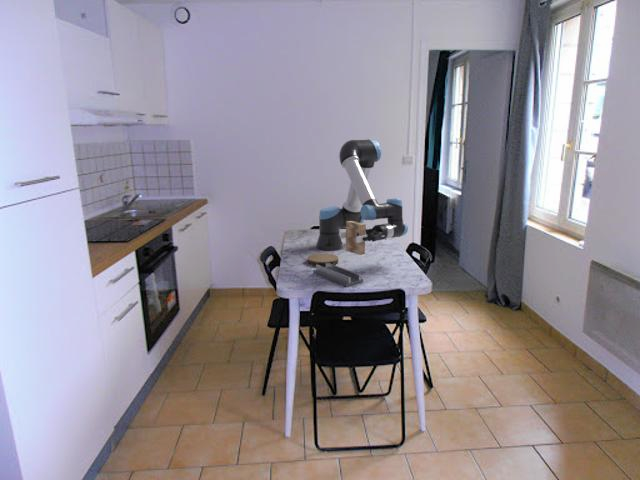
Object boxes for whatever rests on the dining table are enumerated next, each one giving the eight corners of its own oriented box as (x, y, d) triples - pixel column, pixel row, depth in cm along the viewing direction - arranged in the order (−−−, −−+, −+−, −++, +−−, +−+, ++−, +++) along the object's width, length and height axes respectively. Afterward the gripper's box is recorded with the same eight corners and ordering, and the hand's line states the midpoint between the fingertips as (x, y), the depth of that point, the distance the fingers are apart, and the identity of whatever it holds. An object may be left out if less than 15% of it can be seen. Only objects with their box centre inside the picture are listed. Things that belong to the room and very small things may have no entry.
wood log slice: (337, 258, 240) (337, 253, 240) (339, 267, 225) (339, 261, 224) (307, 258, 240) (307, 253, 240) (307, 267, 225) (307, 262, 224)
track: (313, 273, 214) (313, 265, 213) (329, 269, 220) (329, 261, 219) (346, 287, 196) (346, 278, 195) (363, 282, 202) (363, 274, 201)
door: (344, 250, 213) (345, 221, 209) (350, 249, 215) (351, 220, 212) (359, 255, 205) (360, 224, 202) (364, 253, 207) (365, 224, 204)
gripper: (399, 243, 212) (365, 250, 198) (365, 235, 229) (332, 240, 215) (400, 228, 210) (366, 233, 196) (366, 220, 227) (332, 225, 213)
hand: (348, 237), depth 206 cm, fingers closed on door, 10 cm apart
